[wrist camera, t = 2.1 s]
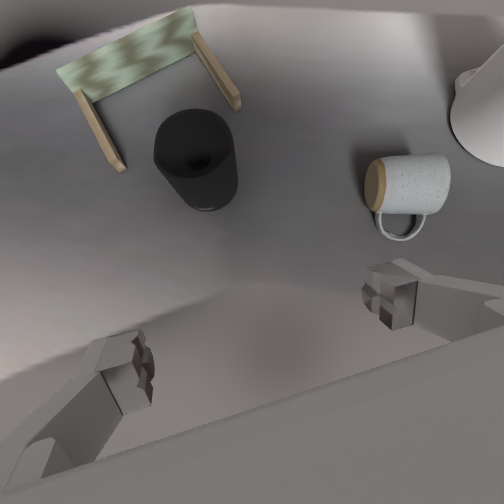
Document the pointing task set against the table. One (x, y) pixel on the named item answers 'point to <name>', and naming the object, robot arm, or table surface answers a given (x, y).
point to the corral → (139, 68)
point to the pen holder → (198, 158)
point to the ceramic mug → (407, 188)
